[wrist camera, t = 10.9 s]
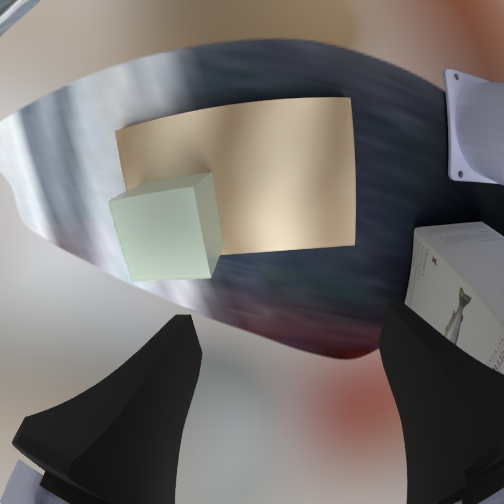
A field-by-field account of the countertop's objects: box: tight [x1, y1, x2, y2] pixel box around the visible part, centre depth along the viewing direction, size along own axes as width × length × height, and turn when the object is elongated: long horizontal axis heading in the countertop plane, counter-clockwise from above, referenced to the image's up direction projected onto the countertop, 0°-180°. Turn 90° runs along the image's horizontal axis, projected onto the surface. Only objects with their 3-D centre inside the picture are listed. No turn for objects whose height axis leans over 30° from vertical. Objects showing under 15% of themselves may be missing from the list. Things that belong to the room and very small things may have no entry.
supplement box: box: [405, 222, 504, 374], centre depth 12 cm, size 7×7×13 cm
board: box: [115, 97, 356, 255], centre depth 16 cm, size 14×9×1 cm, turn 97°
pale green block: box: [108, 172, 224, 282], centre depth 15 cm, size 5×5×4 cm
